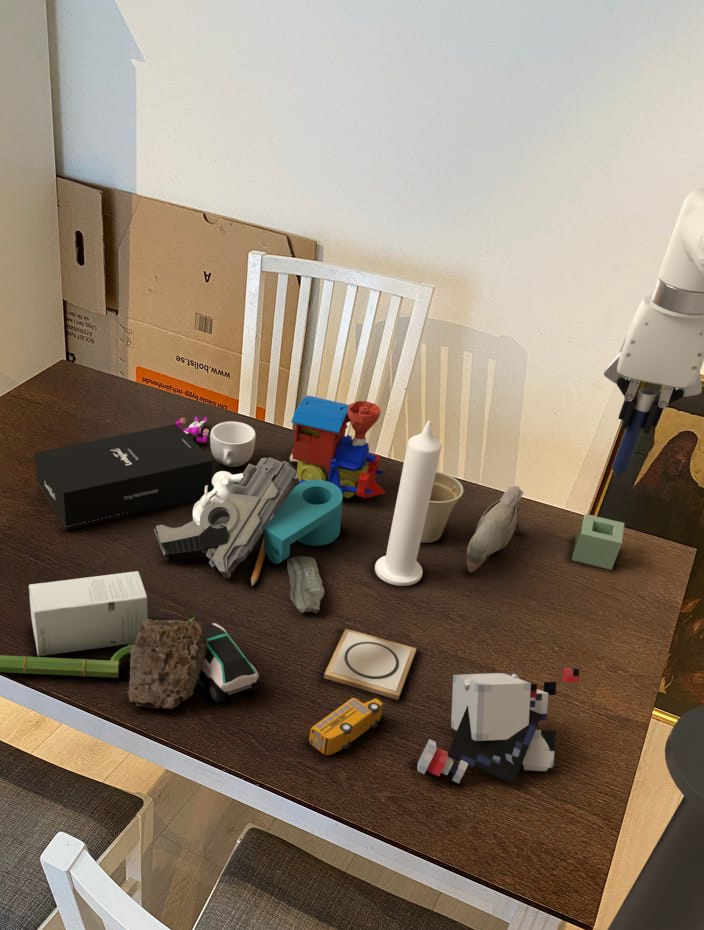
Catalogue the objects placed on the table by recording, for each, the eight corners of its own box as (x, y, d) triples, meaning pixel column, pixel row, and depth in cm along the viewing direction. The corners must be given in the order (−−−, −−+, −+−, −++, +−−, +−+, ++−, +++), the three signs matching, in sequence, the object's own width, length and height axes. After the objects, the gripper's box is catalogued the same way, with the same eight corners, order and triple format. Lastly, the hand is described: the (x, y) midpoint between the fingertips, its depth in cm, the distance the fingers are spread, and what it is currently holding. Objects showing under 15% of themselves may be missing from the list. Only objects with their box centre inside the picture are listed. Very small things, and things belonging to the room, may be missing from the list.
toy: (474, 622, 117) (589, 672, 115) (416, 744, 120) (526, 794, 118) (482, 636, 105) (610, 692, 103) (417, 771, 108) (539, 827, 107)
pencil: (272, 519, 150) (250, 590, 136) (269, 514, 150) (247, 584, 136) (277, 517, 150) (256, 588, 136) (275, 512, 149) (253, 583, 135)
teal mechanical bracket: (353, 495, 142) (316, 473, 146) (282, 540, 136) (245, 516, 140) (350, 529, 147) (314, 507, 151) (281, 574, 140) (246, 549, 144)
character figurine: (187, 427, 173) (164, 450, 163) (189, 400, 170) (166, 422, 160) (216, 433, 172) (195, 457, 162) (219, 407, 169) (198, 430, 159)
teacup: (215, 446, 166) (216, 418, 162) (257, 452, 165) (259, 425, 161) (201, 474, 159) (202, 446, 155) (246, 481, 158) (248, 453, 154)
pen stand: (614, 549, 148) (624, 522, 144) (611, 570, 143) (622, 543, 140) (575, 539, 149) (584, 513, 146) (571, 560, 145) (581, 533, 142)
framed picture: (415, 652, 127) (417, 647, 126) (398, 700, 120) (399, 694, 119) (344, 632, 129) (345, 627, 129) (323, 678, 122) (324, 672, 122)
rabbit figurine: (220, 500, 153) (222, 447, 147) (260, 514, 150) (265, 461, 144) (180, 534, 145) (181, 480, 139) (222, 551, 142) (225, 496, 136)
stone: (328, 603, 130) (293, 607, 130) (328, 615, 131) (293, 618, 131) (315, 554, 140) (282, 557, 140) (315, 565, 141) (282, 569, 141)
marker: (625, 474, 137) (657, 390, 128) (624, 482, 135) (656, 396, 126) (609, 471, 137) (639, 386, 129) (608, 478, 136) (638, 393, 127)
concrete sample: (202, 613, 114) (207, 615, 120) (121, 618, 116) (129, 620, 121) (207, 707, 114) (212, 705, 119) (125, 711, 115) (134, 709, 120)
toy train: (303, 462, 163) (312, 381, 153) (392, 483, 159) (407, 402, 149) (283, 490, 156) (292, 408, 146) (376, 514, 152) (391, 430, 142)
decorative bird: (452, 567, 142) (462, 526, 137) (490, 520, 152) (501, 480, 148) (485, 580, 140) (497, 539, 135) (522, 531, 150) (534, 491, 145)
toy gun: (142, 542, 139) (225, 585, 134) (216, 428, 142) (300, 465, 137) (149, 552, 142) (231, 594, 137) (221, 440, 145) (304, 477, 140)
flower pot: (417, 509, 154) (427, 463, 148) (463, 534, 149) (476, 488, 143) (380, 529, 149) (388, 482, 143) (427, 556, 144) (437, 509, 138)
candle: (421, 589, 138) (457, 437, 121) (373, 583, 138) (402, 430, 122) (421, 561, 143) (455, 411, 126) (375, 555, 144) (403, 405, 127)
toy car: (218, 709, 117) (221, 678, 114) (177, 650, 125) (178, 620, 121) (260, 695, 119) (263, 665, 116) (217, 639, 127) (219, 608, 124)
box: (66, 530, 144) (63, 493, 140) (37, 488, 153) (34, 452, 149) (211, 496, 154) (212, 460, 149) (176, 458, 163) (176, 423, 158)
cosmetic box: (149, 641, 126) (39, 662, 123) (139, 612, 130) (32, 631, 127) (147, 594, 120) (31, 614, 117) (137, 565, 125) (24, 584, 121)
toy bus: (386, 703, 115) (362, 687, 117) (334, 742, 109) (310, 725, 112) (383, 721, 117) (359, 706, 119) (332, 761, 112) (308, 744, 114)
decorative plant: (-39, 659, 115) (205, 671, 116) (-28, 604, 120) (207, 616, 121) (-31, 684, 120) (203, 696, 121) (-20, 631, 125) (205, 642, 126)
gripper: (750, 297, 119) (695, 427, 132) (620, 275, 123) (578, 403, 135) (752, 318, 114) (695, 452, 126) (616, 294, 118) (573, 426, 130)
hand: (635, 425), depth 131 cm, fingers closed on marker, 2 cm apart
